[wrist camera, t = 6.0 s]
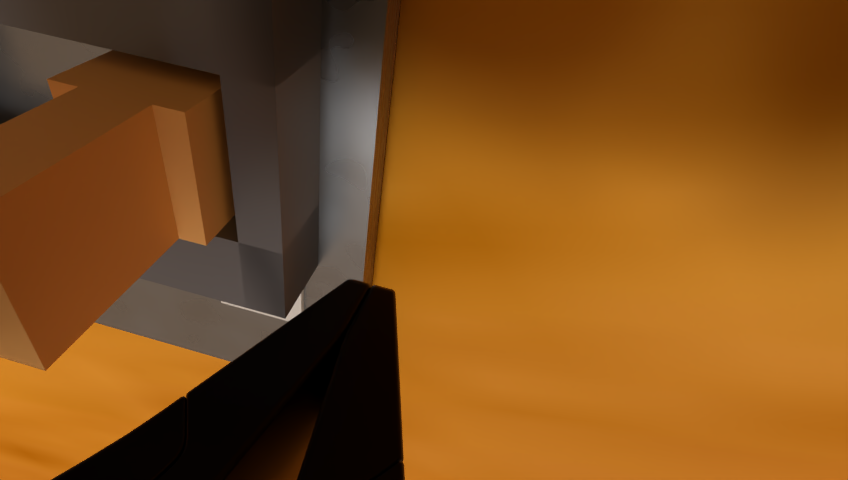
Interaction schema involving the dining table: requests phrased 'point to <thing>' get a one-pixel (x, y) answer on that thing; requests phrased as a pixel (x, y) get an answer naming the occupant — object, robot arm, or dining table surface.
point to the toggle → (103, 193)
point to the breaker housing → (229, 129)
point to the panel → (338, 170)
